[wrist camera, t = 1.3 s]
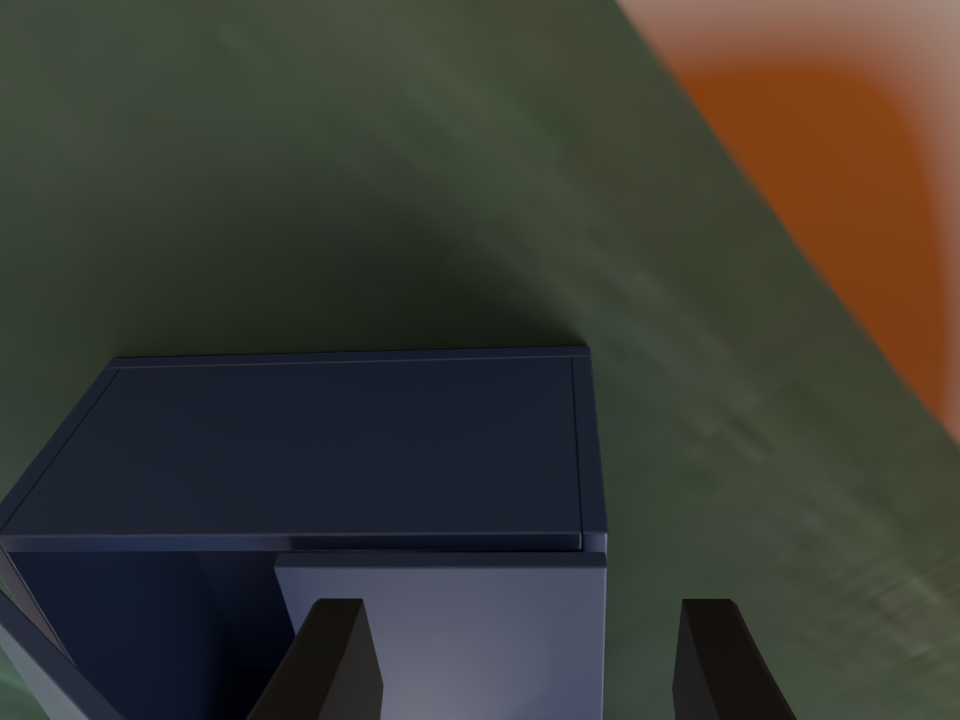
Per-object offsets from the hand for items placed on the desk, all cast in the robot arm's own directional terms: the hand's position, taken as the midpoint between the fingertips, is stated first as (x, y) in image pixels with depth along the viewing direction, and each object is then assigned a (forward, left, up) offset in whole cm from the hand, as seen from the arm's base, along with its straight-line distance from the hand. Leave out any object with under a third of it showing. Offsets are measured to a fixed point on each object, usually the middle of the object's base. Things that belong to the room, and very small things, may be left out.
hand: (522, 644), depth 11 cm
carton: (-9, +5, -10) cm, 15 cm away
